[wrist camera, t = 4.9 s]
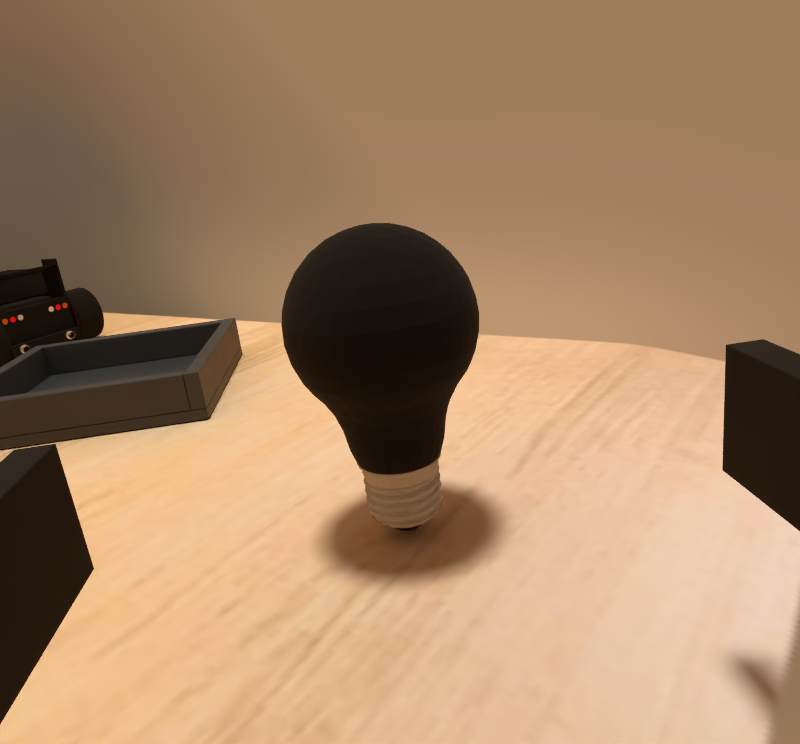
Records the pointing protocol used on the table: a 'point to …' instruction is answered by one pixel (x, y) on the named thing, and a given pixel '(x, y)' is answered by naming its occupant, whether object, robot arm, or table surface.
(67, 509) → the robot arm
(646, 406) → the table surface
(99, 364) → the slate tray
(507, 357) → the table surface
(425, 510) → the light bulb
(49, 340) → the toy truck
